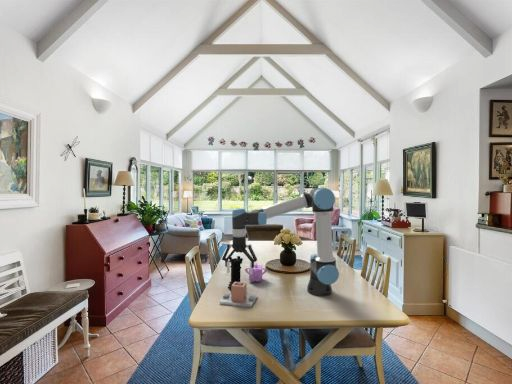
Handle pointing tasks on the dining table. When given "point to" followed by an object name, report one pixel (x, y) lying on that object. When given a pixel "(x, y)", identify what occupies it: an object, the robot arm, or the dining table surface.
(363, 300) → the dining table surface
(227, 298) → the stand
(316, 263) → the robot arm
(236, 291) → the box
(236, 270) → the chess piece
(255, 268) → the teapot
